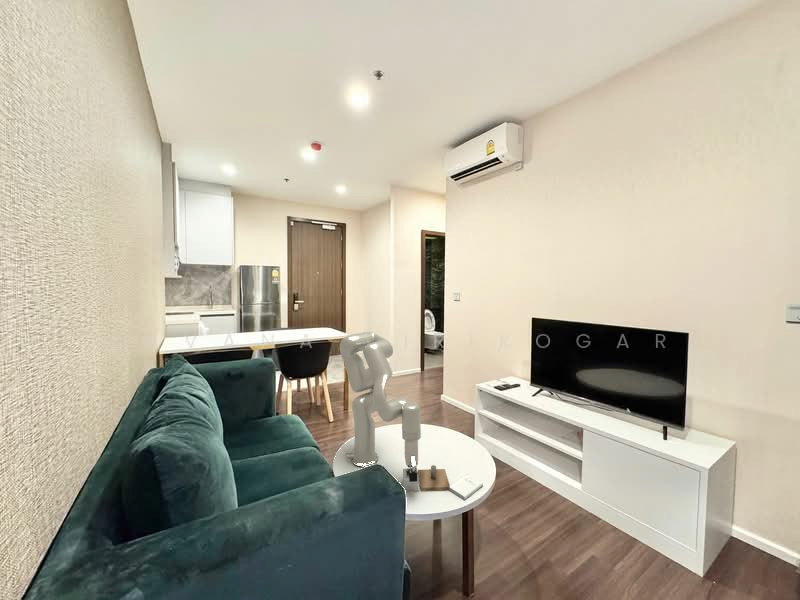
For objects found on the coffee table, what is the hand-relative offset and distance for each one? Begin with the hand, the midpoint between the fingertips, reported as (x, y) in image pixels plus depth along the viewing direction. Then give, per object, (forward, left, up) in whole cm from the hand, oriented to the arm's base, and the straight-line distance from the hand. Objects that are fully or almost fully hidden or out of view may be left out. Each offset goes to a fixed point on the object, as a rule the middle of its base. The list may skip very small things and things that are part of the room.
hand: (412, 473), depth 134 cm
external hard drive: (+22, -1, -6) cm, 23 cm away
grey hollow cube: (-1, +1, -6) cm, 6 cm away
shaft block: (+9, +4, -6) cm, 12 cm away
